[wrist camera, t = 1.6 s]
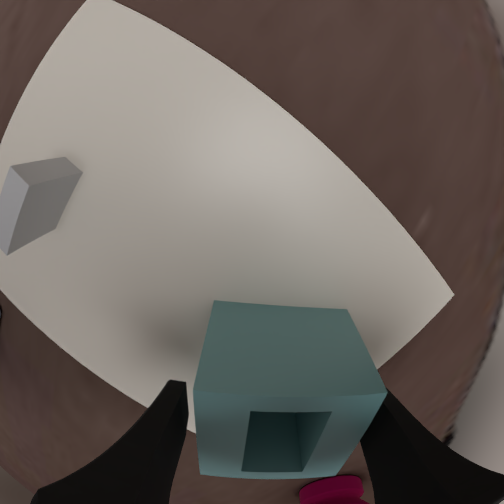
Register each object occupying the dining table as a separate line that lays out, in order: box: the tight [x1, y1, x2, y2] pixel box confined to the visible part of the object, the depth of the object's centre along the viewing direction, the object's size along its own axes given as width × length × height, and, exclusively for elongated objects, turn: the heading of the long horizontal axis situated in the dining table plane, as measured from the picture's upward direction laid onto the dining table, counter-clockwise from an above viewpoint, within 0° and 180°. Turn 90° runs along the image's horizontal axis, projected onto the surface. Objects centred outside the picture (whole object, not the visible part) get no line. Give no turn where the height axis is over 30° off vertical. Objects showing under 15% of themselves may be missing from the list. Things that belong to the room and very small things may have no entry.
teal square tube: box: [193, 300, 388, 479], centre depth 10 cm, size 6×6×5 cm
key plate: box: [0, 0, 454, 433], centre depth 10 cm, size 16×22×5 cm
